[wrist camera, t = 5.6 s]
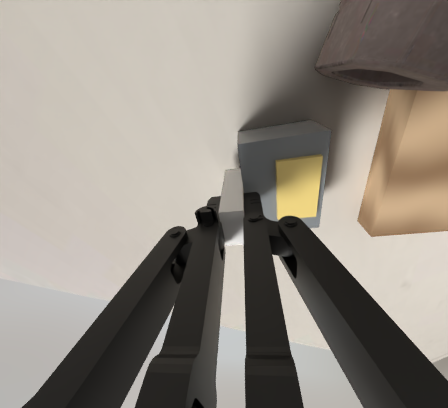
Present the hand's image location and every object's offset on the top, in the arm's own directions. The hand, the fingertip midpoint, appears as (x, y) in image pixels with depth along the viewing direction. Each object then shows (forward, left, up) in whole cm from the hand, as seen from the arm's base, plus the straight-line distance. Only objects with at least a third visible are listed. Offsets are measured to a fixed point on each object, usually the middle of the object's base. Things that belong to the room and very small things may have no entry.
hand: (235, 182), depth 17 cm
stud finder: (0, +4, -2) cm, 4 cm away
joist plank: (0, +16, -1) cm, 16 cm away
